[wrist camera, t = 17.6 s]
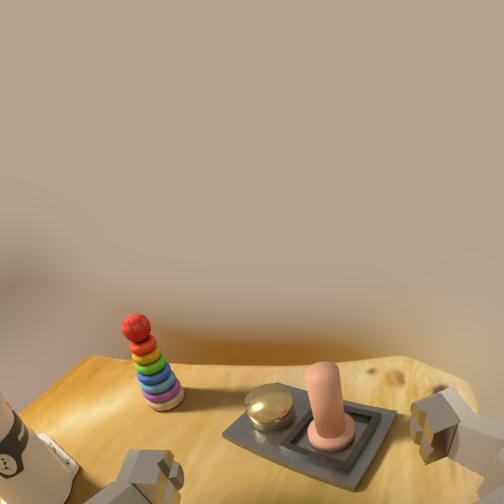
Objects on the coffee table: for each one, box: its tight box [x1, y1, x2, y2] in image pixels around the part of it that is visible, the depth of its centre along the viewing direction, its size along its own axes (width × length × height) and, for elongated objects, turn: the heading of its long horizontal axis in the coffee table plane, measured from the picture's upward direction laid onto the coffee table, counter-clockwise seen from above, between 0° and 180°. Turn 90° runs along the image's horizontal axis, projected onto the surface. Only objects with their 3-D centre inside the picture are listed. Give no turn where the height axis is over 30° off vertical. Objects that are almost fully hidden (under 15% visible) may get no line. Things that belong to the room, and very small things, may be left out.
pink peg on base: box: [304, 362, 355, 452], centre depth 35 cm, size 6×6×12 cm
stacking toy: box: [122, 313, 184, 411], centre depth 52 cm, size 8×8×19 cm
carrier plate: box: [222, 382, 397, 492], centre depth 39 cm, size 22×14×5 cm, turn 50°
